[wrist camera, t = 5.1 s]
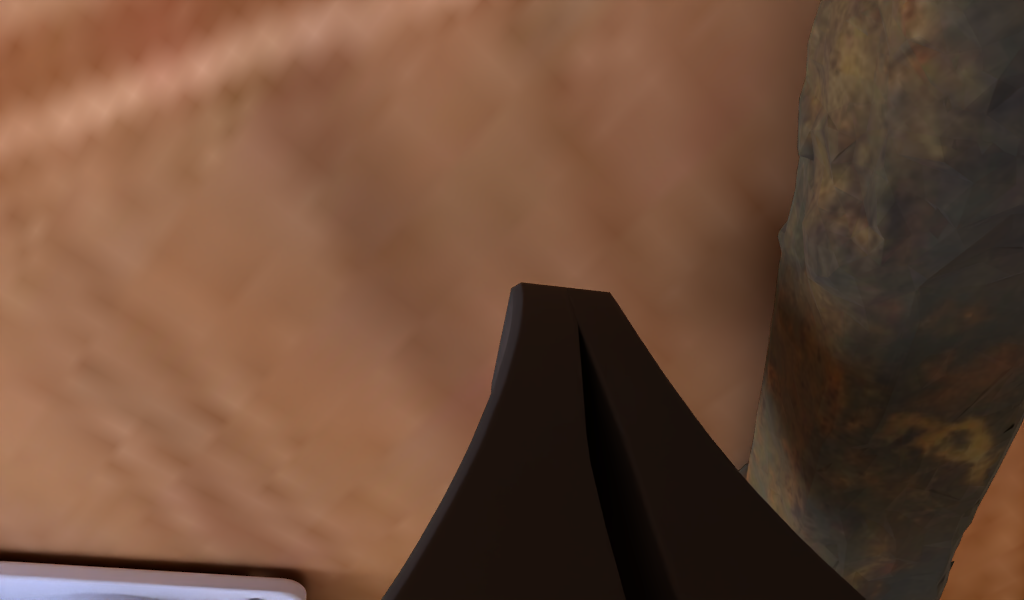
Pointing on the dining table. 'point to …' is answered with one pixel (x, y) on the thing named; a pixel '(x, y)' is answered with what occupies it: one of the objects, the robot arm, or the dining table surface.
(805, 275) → the hand tool
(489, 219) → the dining table surface
